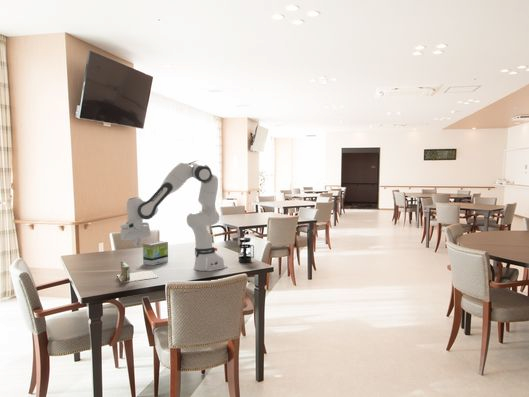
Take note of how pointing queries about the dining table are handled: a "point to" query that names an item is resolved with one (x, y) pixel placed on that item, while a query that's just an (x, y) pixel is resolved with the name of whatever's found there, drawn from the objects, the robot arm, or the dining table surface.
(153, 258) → the tea box
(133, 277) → the mat
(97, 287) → the dining table surface
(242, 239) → the french press
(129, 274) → the gate
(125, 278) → the latch post
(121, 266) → the hinge post
